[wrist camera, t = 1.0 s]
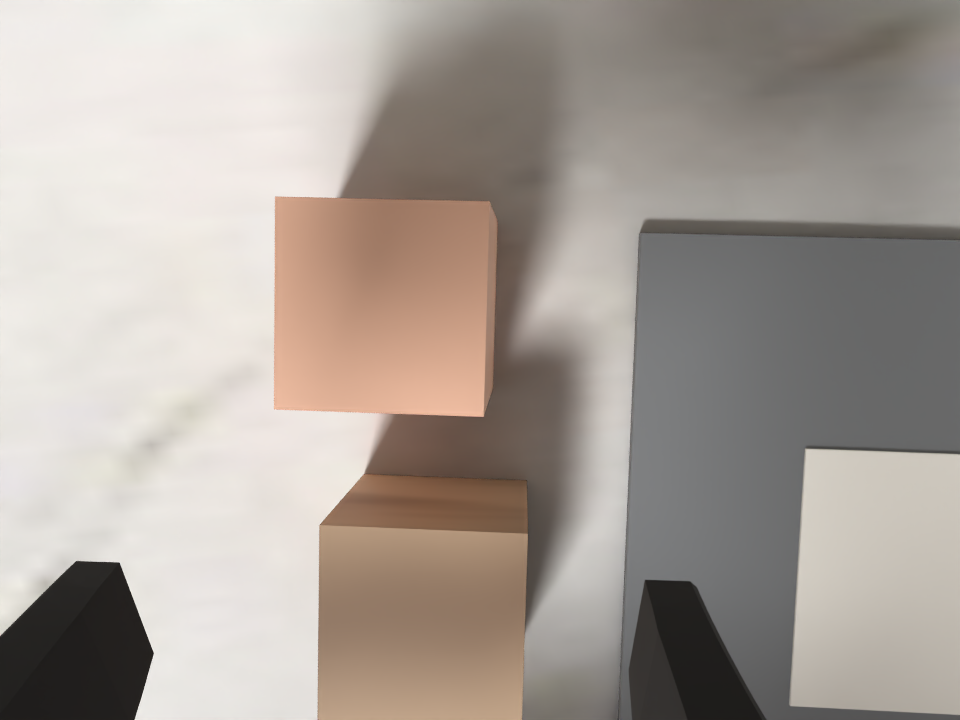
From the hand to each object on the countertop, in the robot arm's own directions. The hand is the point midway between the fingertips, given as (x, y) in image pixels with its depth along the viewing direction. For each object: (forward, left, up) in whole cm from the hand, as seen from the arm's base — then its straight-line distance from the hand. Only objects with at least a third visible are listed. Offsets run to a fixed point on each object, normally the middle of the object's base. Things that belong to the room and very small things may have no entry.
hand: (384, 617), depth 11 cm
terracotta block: (+4, +1, -11) cm, 12 cm away
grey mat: (-3, -13, -11) cm, 17 cm away
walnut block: (-3, 0, -11) cm, 11 cm away
